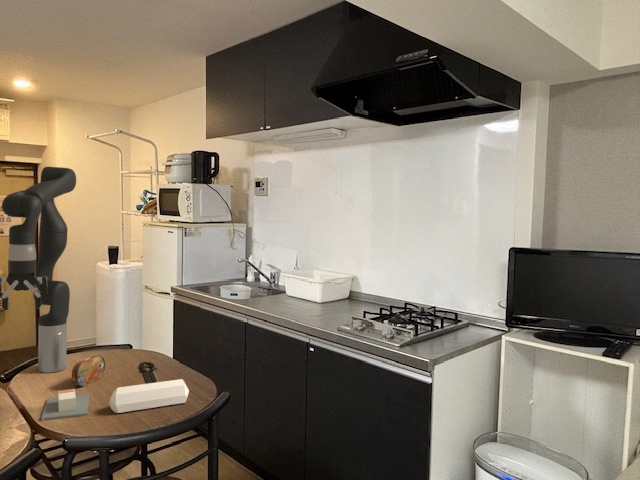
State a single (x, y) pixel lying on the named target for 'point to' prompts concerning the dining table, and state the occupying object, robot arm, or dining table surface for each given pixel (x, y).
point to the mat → (53, 410)
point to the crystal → (148, 395)
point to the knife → (149, 372)
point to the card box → (66, 400)
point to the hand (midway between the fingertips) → (22, 309)
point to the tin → (88, 370)
